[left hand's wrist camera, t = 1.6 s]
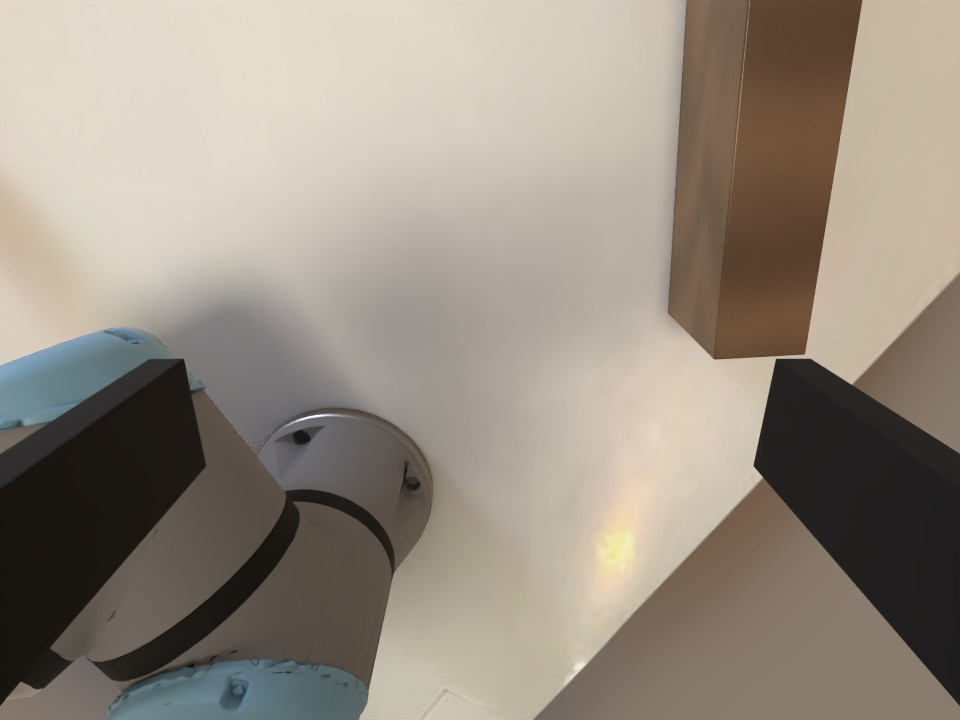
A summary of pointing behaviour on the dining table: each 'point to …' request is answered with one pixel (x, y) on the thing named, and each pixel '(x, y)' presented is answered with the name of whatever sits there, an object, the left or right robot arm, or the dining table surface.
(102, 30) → the dining table surface
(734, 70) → the bar
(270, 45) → the dining table surface
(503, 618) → the dining table surface
